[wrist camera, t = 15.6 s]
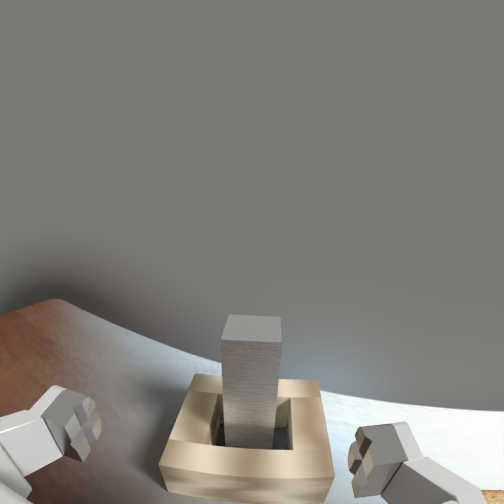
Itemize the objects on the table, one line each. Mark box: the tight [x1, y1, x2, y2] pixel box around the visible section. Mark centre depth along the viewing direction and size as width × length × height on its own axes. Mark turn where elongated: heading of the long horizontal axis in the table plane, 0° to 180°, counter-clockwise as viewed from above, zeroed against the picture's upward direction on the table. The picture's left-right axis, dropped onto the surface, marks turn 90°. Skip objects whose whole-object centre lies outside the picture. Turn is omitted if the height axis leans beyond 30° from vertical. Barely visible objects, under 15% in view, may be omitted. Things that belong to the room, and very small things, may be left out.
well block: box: [159, 374, 335, 504], centre depth 24 cm, size 13×13×4 cm
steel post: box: [221, 315, 282, 450], centre depth 23 cm, size 4×4×14 cm
